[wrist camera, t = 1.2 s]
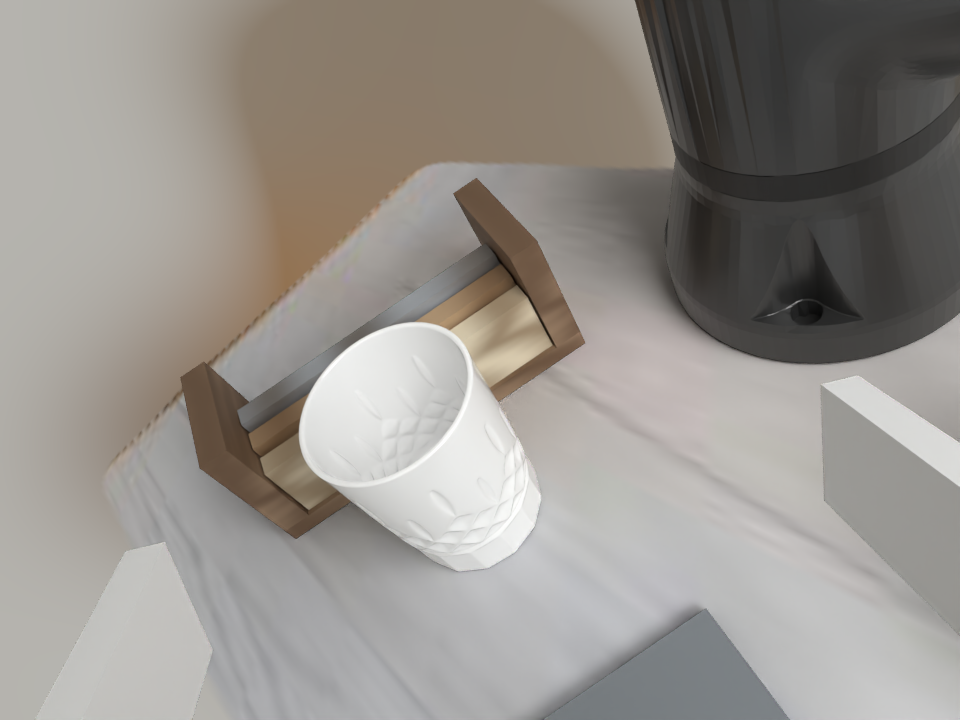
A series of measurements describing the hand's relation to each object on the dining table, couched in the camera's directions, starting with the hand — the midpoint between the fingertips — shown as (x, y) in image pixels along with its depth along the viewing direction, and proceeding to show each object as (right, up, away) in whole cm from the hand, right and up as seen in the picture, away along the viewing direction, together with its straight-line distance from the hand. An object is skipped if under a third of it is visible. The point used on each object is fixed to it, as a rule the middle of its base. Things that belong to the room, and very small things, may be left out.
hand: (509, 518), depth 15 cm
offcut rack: (-4, +1, +28) cm, 29 cm away
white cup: (-1, -4, +23) cm, 23 cm away
